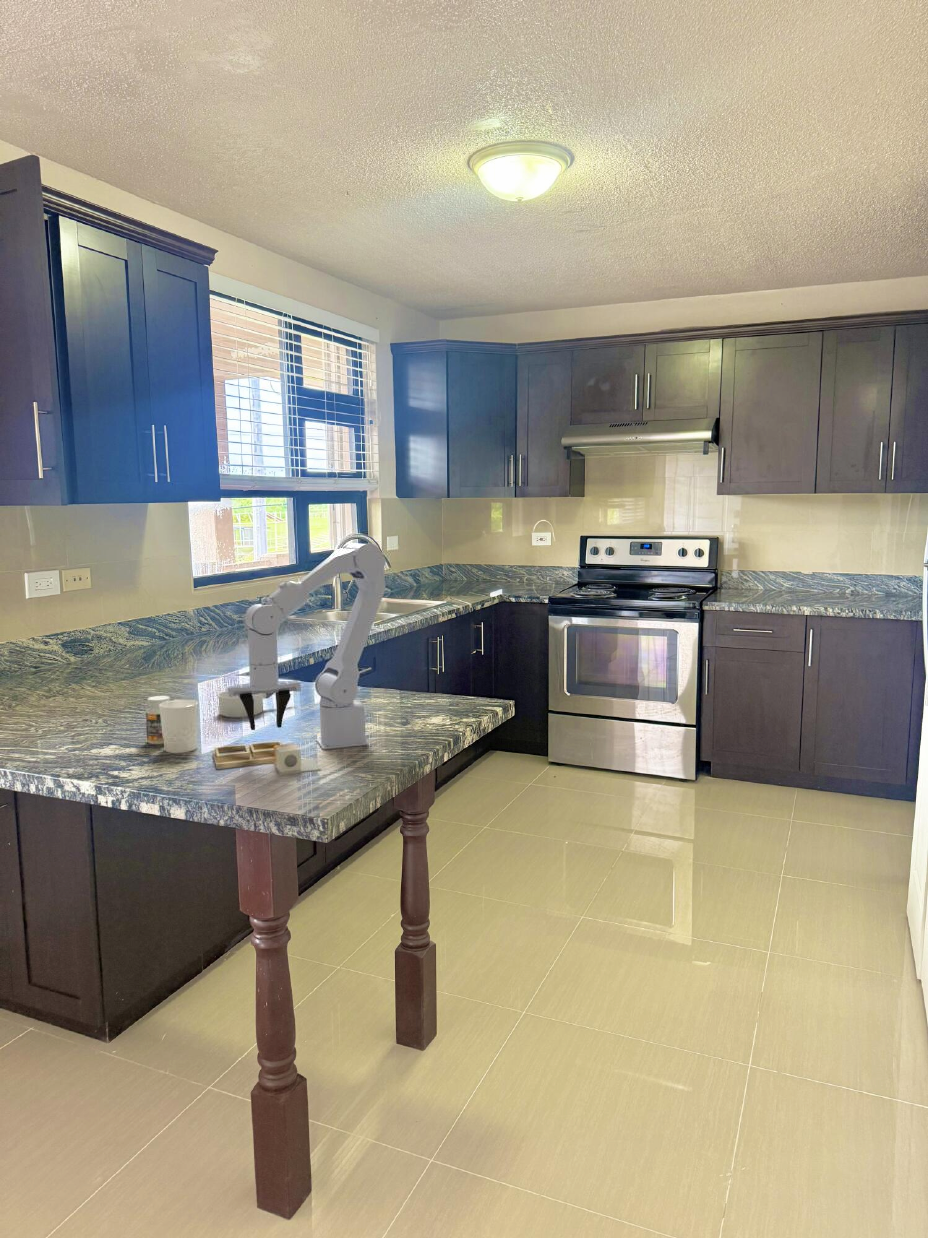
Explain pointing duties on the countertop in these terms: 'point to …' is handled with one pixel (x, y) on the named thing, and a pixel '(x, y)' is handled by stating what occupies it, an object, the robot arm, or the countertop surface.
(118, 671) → the countertop surface
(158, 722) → the pill bottle
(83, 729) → the countertop surface
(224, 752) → the socket block
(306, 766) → the mat
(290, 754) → the cube with grey knob
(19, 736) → the countertop surface
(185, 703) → the white cup
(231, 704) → the saucepan
